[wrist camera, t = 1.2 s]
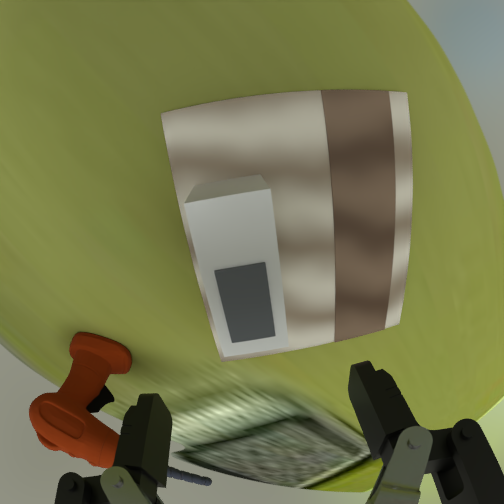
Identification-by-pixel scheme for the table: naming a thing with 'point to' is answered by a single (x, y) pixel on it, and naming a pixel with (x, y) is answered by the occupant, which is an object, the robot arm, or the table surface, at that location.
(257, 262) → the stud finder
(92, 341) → the toy drill
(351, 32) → the table surface
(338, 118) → the subfloor panel
